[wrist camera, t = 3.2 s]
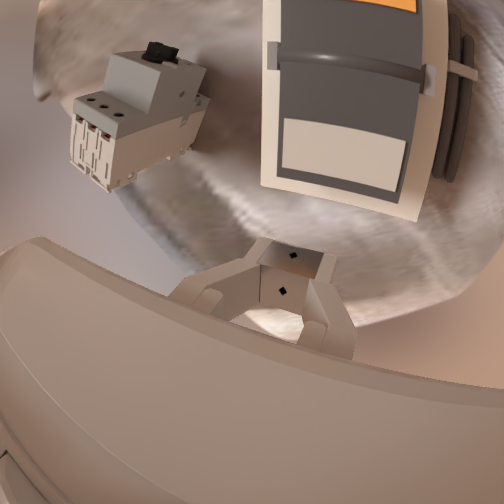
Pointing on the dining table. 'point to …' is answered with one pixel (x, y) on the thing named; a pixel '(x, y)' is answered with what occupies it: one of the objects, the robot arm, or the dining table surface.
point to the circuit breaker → (137, 115)
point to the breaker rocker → (349, 93)
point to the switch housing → (423, 130)
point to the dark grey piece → (451, 98)
